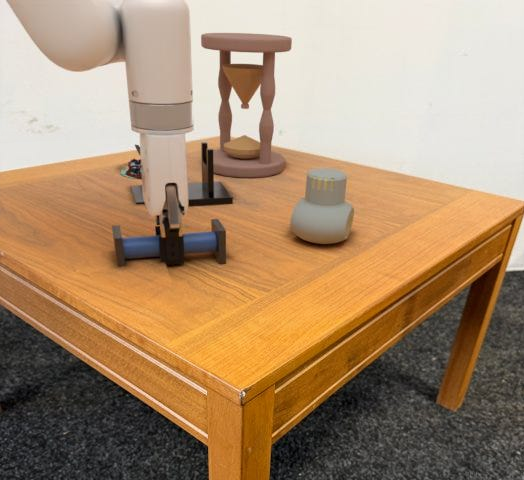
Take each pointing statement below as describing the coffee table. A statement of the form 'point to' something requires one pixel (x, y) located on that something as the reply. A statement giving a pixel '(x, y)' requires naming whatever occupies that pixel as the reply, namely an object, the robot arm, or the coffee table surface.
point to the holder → (199, 185)
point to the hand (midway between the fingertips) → (170, 257)
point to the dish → (133, 167)
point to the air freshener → (323, 208)
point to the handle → (150, 244)
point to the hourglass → (246, 103)
